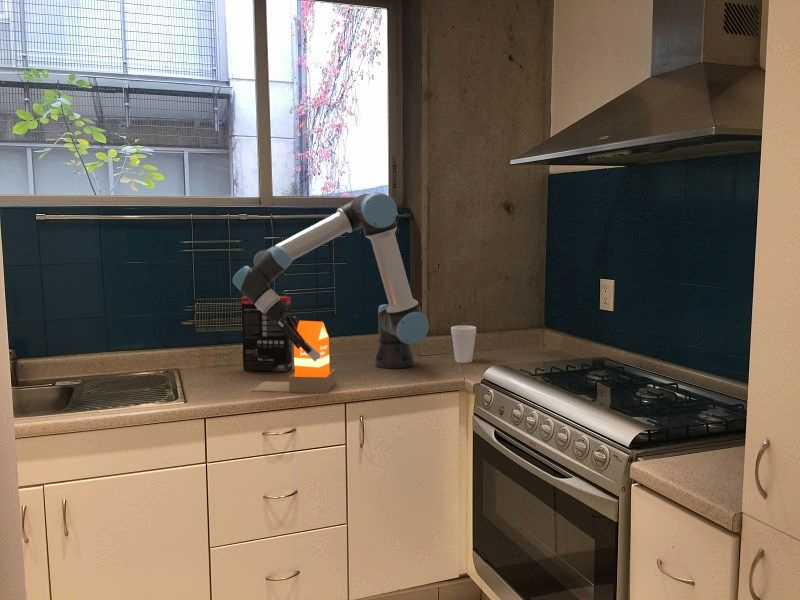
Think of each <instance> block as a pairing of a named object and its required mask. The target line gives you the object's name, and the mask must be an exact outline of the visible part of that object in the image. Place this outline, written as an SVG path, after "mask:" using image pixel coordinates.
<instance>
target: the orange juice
mask: <svg viewBox="0 0 800 600" xmlns="http://www.w3.org/2000/svg"><path fill="white" fill-rule="evenodd" d="M297 331H298V332H299V333H300V335H301V336H302V338H303V339H304V340H305V342H306V341H307V342H308V343H309V344H310V345H311V346H312V347H313V348H314V349H315V350H316V351H317V352H318V353H319V354H320V355H321V356H320V357H319V358H318V359H317V360H316V361H314V360H313V359H312V358H311V357H310V356H309V355H308V354H307V353H306V352H305V351H304V350H303V349H302V348H301V347H300V348H299V349H298V348H296V346H295V345H294V344H293V349H294V350H293V353H294V358H293V359H294V360H293V361H294V362H293V363H294V372H295V377H327V376H328V375H329V374H330V370H329V369H330V337H329V334H328V332H327V329H326V326H325V323H324V321H316V320H315V321H313V320H300V321H299V324H298V328H297Z"/></svg>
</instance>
